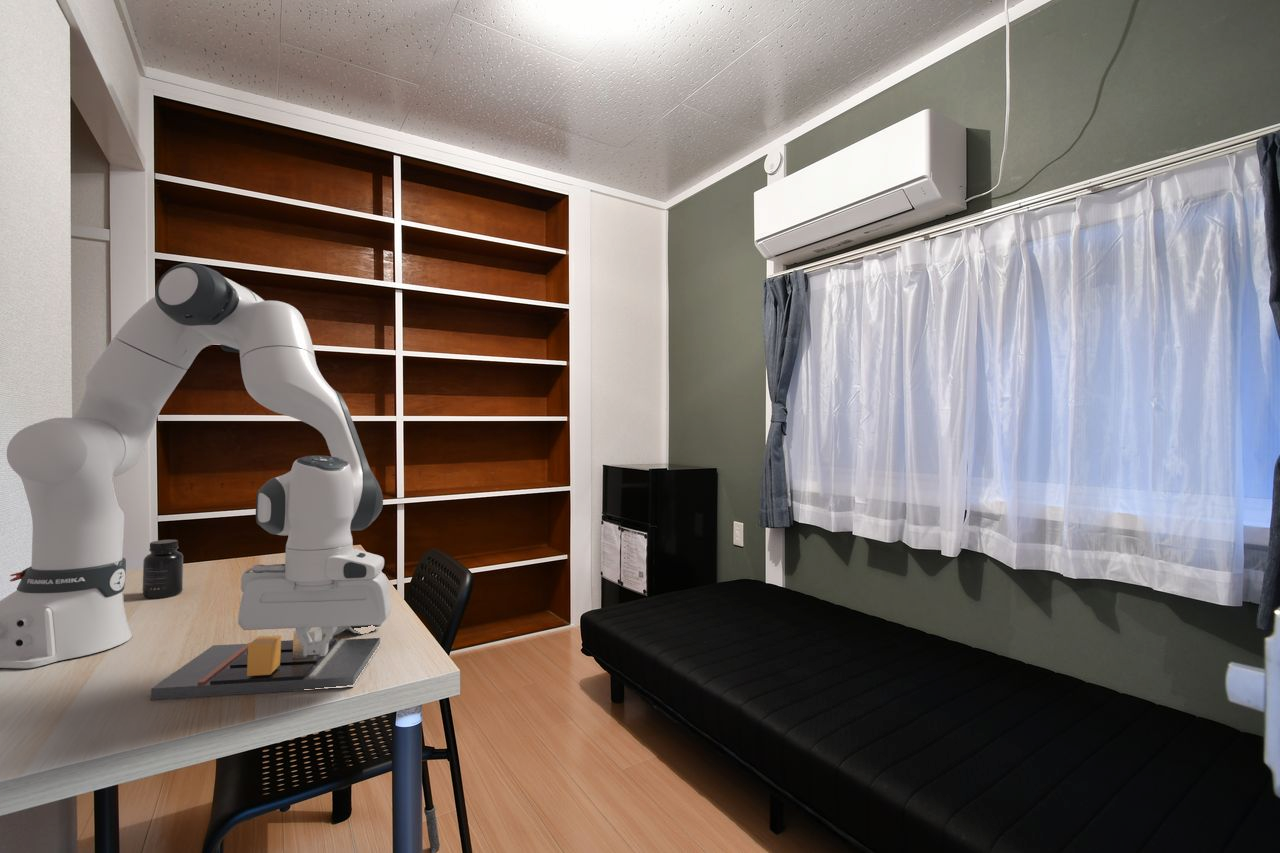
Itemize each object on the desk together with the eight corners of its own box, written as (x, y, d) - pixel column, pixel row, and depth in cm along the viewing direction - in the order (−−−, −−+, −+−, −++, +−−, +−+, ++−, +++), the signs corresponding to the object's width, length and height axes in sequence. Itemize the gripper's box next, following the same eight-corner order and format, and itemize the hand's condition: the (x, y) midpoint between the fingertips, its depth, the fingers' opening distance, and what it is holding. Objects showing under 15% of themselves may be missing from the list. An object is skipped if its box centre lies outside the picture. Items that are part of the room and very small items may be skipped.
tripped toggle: (246, 676, 81) (248, 644, 81) (257, 666, 84) (259, 636, 84) (269, 674, 81) (271, 643, 81) (280, 664, 85) (281, 635, 85)
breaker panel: (150, 700, 77) (152, 653, 78) (212, 654, 93) (214, 615, 93) (353, 687, 83) (354, 643, 83) (379, 646, 99) (381, 610, 99)
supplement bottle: (152, 591, 127) (154, 538, 127) (188, 590, 129) (190, 538, 129) (135, 600, 120) (137, 544, 120) (173, 598, 122) (175, 543, 122)
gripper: (231, 570, 79) (227, 667, 79) (385, 567, 83) (382, 659, 83) (252, 560, 85) (248, 650, 85) (394, 557, 90) (391, 643, 89)
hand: (315, 655), depth 84 cm, fingers closed
